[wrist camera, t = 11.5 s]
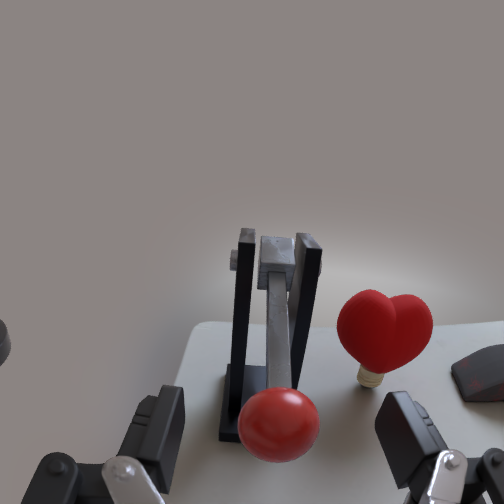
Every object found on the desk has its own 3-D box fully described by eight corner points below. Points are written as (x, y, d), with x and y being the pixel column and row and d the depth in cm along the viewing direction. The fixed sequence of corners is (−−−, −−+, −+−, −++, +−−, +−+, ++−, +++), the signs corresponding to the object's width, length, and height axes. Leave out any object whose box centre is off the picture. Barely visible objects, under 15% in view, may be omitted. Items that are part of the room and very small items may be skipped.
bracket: (297, 444, 19) (341, 260, 15) (218, 441, 19) (226, 251, 15) (287, 376, 28) (310, 228, 24) (227, 372, 28) (236, 221, 24)
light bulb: (320, 403, 24) (346, 305, 22) (323, 361, 31) (341, 276, 28) (413, 410, 22) (452, 317, 20) (401, 369, 29) (428, 287, 26)
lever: (310, 467, 11) (333, 451, 9) (234, 467, 11) (236, 451, 9) (296, 271, 22) (304, 231, 20) (247, 267, 22) (251, 227, 20)
